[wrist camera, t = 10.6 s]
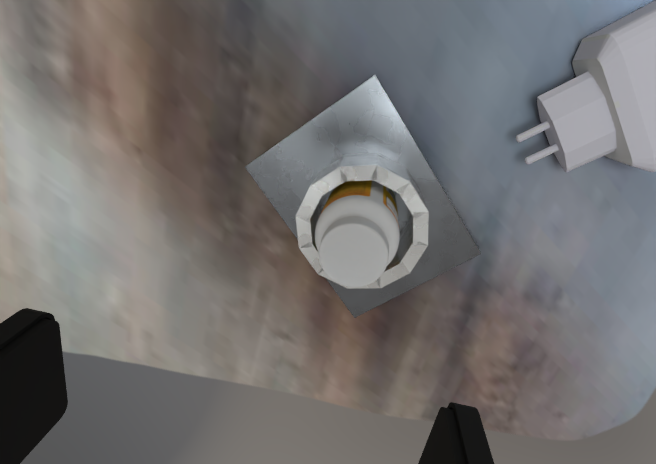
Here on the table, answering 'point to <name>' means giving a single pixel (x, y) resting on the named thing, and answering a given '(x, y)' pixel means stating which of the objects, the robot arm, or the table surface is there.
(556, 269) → the table surface
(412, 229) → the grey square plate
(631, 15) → the charger
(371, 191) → the supplement bottle
